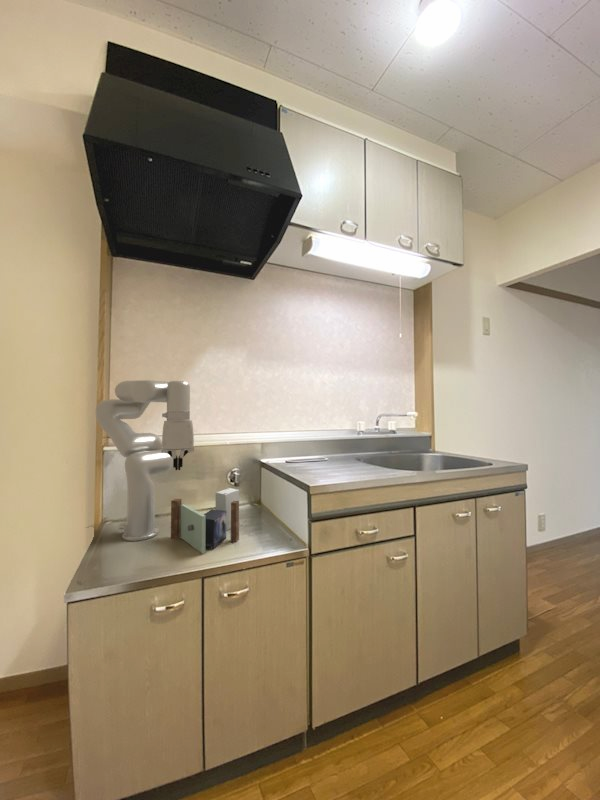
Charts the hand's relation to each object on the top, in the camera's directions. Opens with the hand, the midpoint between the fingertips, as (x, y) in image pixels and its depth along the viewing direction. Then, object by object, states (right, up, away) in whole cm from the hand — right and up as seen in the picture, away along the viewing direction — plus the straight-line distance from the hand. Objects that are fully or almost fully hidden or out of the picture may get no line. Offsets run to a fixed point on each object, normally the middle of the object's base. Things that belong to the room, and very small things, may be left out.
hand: (177, 469), depth 114 cm
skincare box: (+13, -28, +20) cm, 36 cm away
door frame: (+7, -27, +7) cm, 29 cm away
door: (+4, -27, +1) cm, 27 cm away
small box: (+11, -28, +4) cm, 30 cm away
